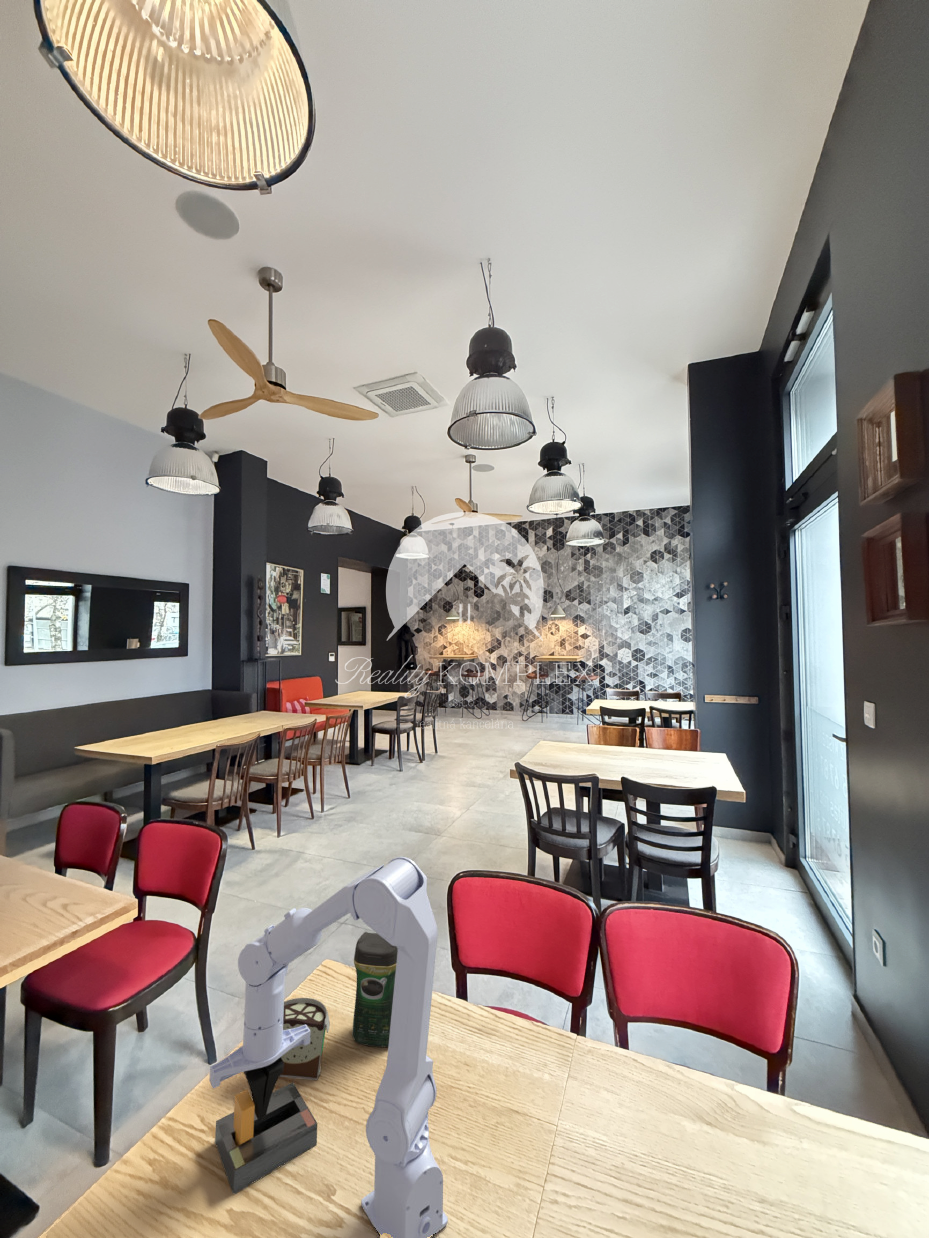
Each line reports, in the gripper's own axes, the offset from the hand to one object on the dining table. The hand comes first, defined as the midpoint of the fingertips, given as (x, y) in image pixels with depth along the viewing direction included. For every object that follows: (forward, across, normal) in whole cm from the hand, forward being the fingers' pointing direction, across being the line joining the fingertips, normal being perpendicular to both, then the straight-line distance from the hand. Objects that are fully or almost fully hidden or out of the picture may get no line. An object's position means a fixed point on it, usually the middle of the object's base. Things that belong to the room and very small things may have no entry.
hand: (259, 1112), depth 78 cm
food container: (+5, -11, -12) cm, 17 cm away
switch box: (+5, -1, 0) cm, 5 cm away
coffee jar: (+5, -26, -10) cm, 28 cm away
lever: (+5, +2, 0) cm, 5 cm away
